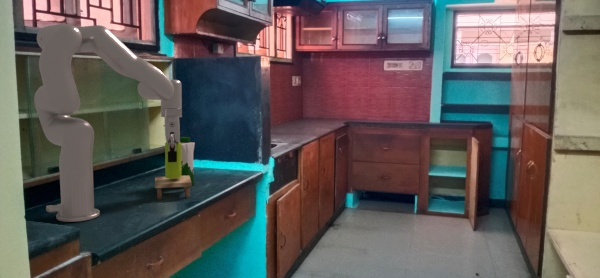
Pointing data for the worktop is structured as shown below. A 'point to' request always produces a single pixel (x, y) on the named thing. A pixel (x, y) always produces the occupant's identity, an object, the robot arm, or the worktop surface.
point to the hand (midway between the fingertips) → (172, 160)
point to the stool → (173, 184)
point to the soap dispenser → (173, 163)
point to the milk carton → (187, 158)
